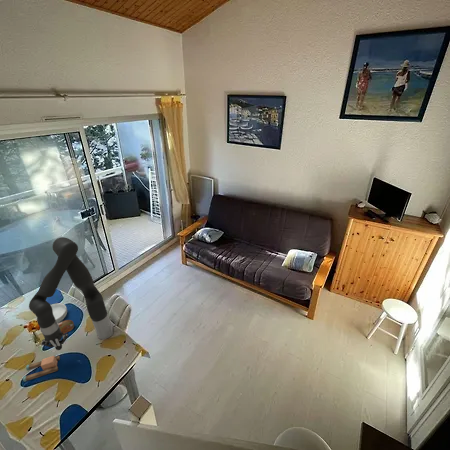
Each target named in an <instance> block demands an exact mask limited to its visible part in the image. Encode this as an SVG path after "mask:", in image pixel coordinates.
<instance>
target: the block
mask: <svg viewBox="0 0 450 450" xmlns="http://www.w3.org/2000/svg"><path fill="white" fill-rule="evenodd" d="M55 357H56V356H55V355H51V356H48V357H46V358H42V359H41V361H42V362H41V366H40V367H41V369H42V371H44V370H47V369H50V368H53V367H56V366H57V367H58V361H59V360H58V361H57V359H56V358H55Z"/></svg>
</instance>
